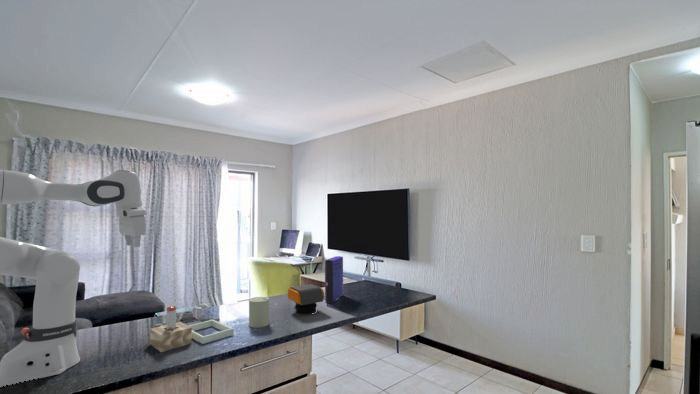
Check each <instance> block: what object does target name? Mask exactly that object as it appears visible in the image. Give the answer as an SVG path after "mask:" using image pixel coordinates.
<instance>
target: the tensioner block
mask: <svg viewBox="0 0 700 394" xmlns="http://www.w3.org/2000/svg"><path fill="white" fill-rule="evenodd" d="M166 328H167V325H164V326H160V327H156V328H154V327H152V328H150V334H149V335H150V339H149V340H150V342H149V343H150V346H151V347H153V348H154V349H156V350H157V351H158V352H160V353H164V352H167V351H170V350H174V349H177V348H181V347H184V346H186V345H190V344H192V341H193V340H192V339H193V338H192V328H191V327H190V326H189V325H187V324H186V323H182V321H180V322H176V329H173V330H169V331H167V330H166Z"/></svg>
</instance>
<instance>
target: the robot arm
mask: <svg viewBox="0 0 700 394" xmlns="http://www.w3.org/2000/svg"><path fill="white" fill-rule="evenodd" d="M138 175H139V174H137V173H136V172H134V171H130V170H124V169H123V170H121V169H119V170H115V171H114V172H113V173H111V174H109V175H107V176H104V177H102V178H99V179H96V180H90V181H86V182H83V183H65V182H64V183H63V182H51V181H48V180H44V179H41V178H40V177H37V176H35V175H34V174H32V173H28V172H22V171H18V170H17V171H16V170H10V169H9V170H8V169H0V205H22V204H31V203H36V202H39V201H47V200H51V201H52V200H53V201H73V202H79V203H82V204H84V205H87V206H90V207H100V206H106V205H110V204H111V203H114V204H115V211H116V213H115V214H116V218H118V229H119V234H120V235H123V237H124V240H125V243H126V246H128V247H130V246H132V245H133V247H135V248H140V247H141V239H142V236H145V235H146V230H147V229H146V215H147V210H146V209H145V208H144V206H143V202H142V199H141V194H142V188H141V182H140V178H139V176H138ZM132 238H133V240H132ZM80 270H81V263H80V260H79V259H78V258H77V257H76V256H75V255H73V254H71V253H69V252H67V251H64V250H59V249H57V248H52V247H47V246H42V245H38V244H35V243H29V242H24V241H20V240H16V239H12V238H6V237H3V236H0V275H1V276H6V277H7V276H9V277H16V278H24V279H31V280H35V291H34V298H33V303H32V304H33V305H32V327H24V328H22V329H21V331H20V333H21V335H23V340H22V342H20V343H19V344H17V345H16V346H15V347H13V348H12V349H11V350H9V351H8V352H7V353H5V354H4V355H3V356H2V358H1V359H0V388H2V387H3V386H4V387H7V386H6V385H8V386H12V384H13V385H16V383H17V384H20V383H19V382H21V383H25V382H24V381H26V382H29V380H30V381H34V380H33V379H35V380H38V378H39V379H43V378H47V377H51V376H55V375H60V374H62V373H64V372H66V370H68V369H70V368H72V367H74V366H75V365H77V364H78V363H79V362H80V361H81V357H80V355H79V351H78V346H77V340H76V339H77V333H78V323H77V322H78V321H77V320H76V308H77V307H76V304H77V292H78V286H79V282H80V281H79V279H80Z"/></svg>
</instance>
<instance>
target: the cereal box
mask: <svg viewBox="0 0 700 394" xmlns="http://www.w3.org/2000/svg"><path fill="white" fill-rule="evenodd" d="M341 295H343V296H344V257H343V256H341V255H340V256H339V255H337V256H336V255H335V256H333V257H331V258H327V259H325V260H324V296H325V299H324V302H325V301H326V302H325V303H327V302H333V301H335V300H336V299H337V298H339V297H340V296H341ZM339 299H340V298H339ZM336 301H337V300H336ZM336 301H335V302H336Z"/></svg>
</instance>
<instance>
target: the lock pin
mask: <svg viewBox="0 0 700 394" xmlns="http://www.w3.org/2000/svg"><path fill="white" fill-rule="evenodd" d="M176 313H177V306H174V305H172V306H171V305H170V306H167V307H166V323H167V328H166V330H167V331H169V330H173V329H176Z"/></svg>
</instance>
